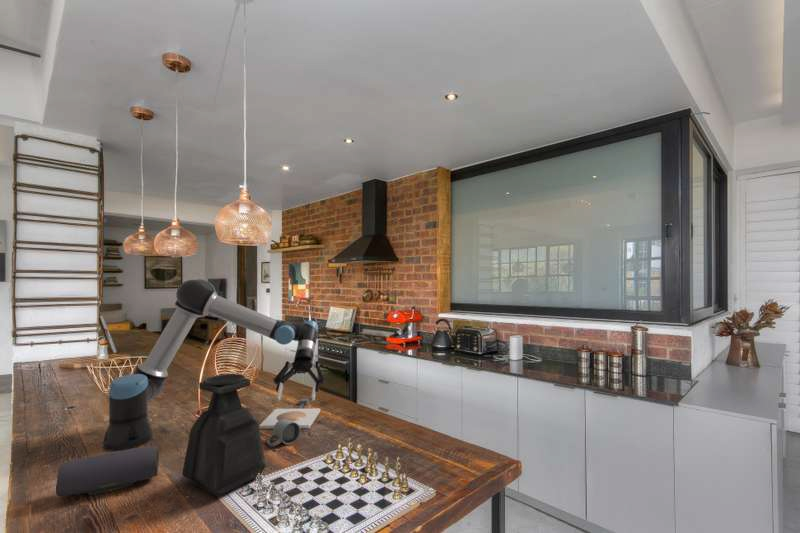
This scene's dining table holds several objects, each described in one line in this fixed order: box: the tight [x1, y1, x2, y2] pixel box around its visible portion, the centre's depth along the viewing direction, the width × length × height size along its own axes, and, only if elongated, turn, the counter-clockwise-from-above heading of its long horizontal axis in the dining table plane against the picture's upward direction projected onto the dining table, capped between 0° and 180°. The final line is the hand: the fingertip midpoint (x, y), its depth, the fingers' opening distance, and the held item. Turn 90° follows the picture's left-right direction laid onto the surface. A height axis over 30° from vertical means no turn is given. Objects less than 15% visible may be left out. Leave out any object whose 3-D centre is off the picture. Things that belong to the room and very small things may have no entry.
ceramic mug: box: [266, 419, 301, 448], centre depth 143 cm, size 11×8×8 cm
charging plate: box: [258, 398, 321, 430], centre depth 171 cm, size 32×20×2 cm, turn 179°
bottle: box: [182, 373, 267, 497], centre depth 116 cm, size 18×16×30 cm
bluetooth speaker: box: [55, 445, 160, 497], centre depth 112 cm, size 23×9×10 cm, turn 118°
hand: (295, 399), depth 152 cm, fingers open, 13 cm apart
